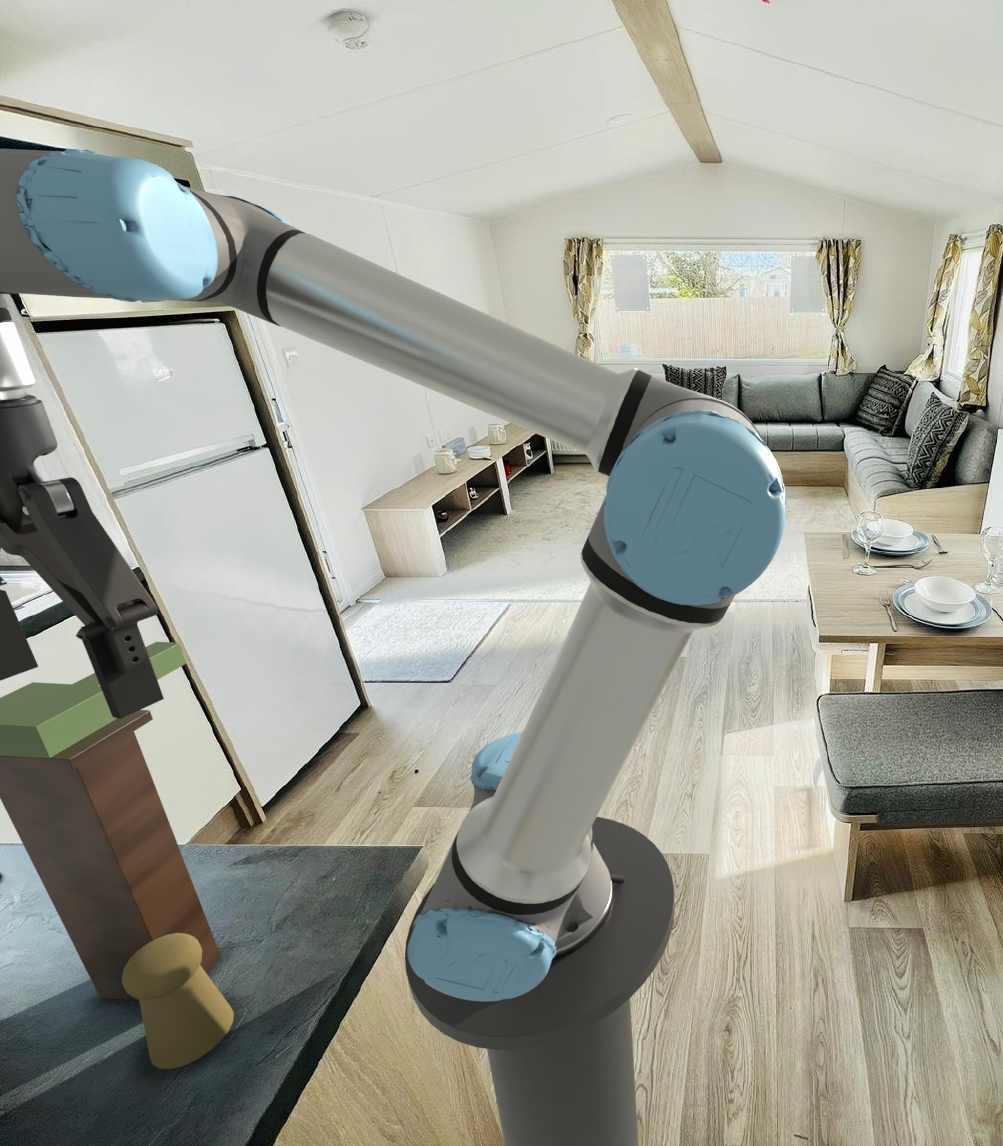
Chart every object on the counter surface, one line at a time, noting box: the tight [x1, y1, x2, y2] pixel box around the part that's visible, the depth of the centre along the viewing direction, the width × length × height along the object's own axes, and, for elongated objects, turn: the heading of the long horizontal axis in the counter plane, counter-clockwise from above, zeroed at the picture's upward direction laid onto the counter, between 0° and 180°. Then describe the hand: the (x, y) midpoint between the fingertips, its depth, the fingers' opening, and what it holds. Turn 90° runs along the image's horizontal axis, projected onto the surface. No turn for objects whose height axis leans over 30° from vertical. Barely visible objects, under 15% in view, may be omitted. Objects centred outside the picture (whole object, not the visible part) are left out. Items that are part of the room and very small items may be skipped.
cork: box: [122, 933, 235, 1070], centre depth 58 cm, size 6×6×11 cm
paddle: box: [0, 641, 187, 758], centre depth 57 cm, size 7×15×3 cm, turn 178°
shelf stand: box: [0, 709, 222, 1002], centre depth 60 cm, size 10×7×30 cm
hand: (73, 691), depth 47 cm, fingers open, 13 cm apart
